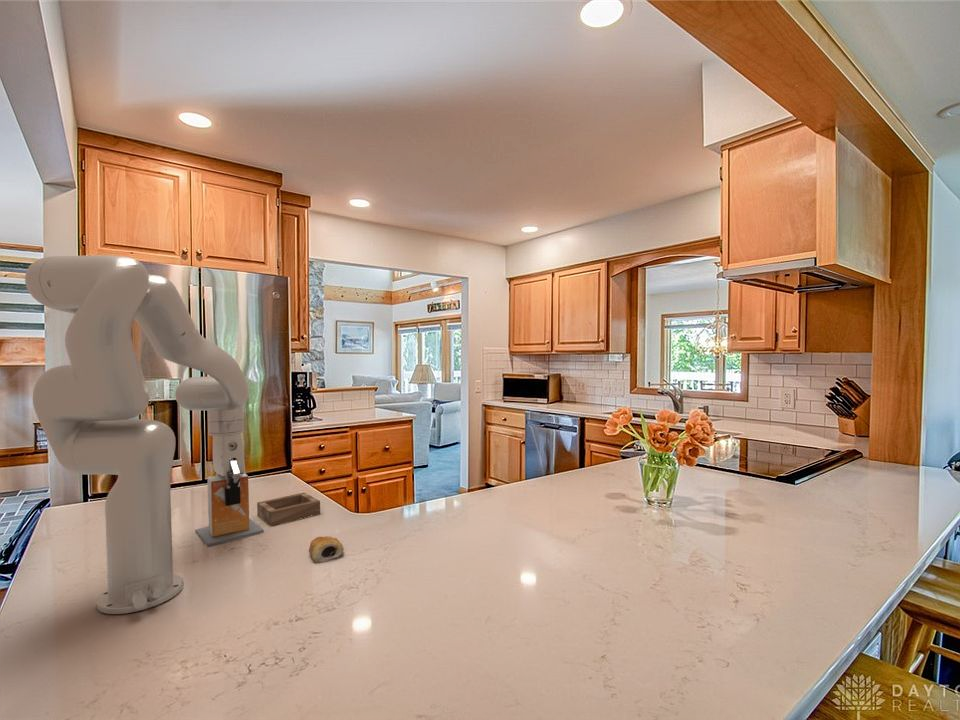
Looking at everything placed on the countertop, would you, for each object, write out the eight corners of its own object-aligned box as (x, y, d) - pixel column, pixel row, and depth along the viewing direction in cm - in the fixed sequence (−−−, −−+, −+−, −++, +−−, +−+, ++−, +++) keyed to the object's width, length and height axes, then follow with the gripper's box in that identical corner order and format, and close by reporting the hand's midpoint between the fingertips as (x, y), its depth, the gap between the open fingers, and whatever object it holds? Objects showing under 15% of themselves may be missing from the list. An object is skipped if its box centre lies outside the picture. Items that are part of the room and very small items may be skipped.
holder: (320, 514, 127) (320, 500, 127) (271, 526, 119) (271, 512, 119) (304, 504, 135) (304, 492, 135) (257, 515, 127) (257, 502, 127)
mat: (263, 532, 115) (263, 529, 115) (207, 546, 107) (207, 544, 107) (248, 519, 124) (248, 517, 124) (195, 532, 116) (195, 529, 116)
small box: (212, 537, 110) (210, 481, 110) (208, 530, 115) (206, 476, 115) (250, 529, 115) (248, 475, 115) (245, 522, 120) (243, 470, 120)
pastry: (304, 549, 105) (303, 532, 105) (335, 542, 109) (334, 526, 109) (313, 565, 97) (313, 547, 97) (346, 558, 101) (346, 540, 101)
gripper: (254, 429, 111) (256, 505, 111) (232, 421, 124) (234, 490, 124) (218, 433, 106) (220, 513, 106) (199, 425, 119) (201, 496, 119)
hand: (228, 500), depth 115 cm, fingers open, 7 cm apart
